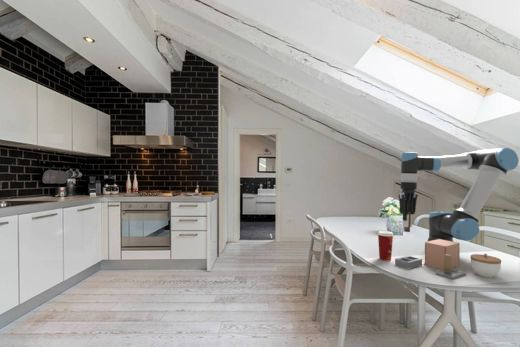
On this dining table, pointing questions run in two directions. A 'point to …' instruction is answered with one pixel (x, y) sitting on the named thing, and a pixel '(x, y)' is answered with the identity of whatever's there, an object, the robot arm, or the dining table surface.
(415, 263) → the grey hollow block
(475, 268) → the lidded jar
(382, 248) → the paper cup
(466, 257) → the dining table surface
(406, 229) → the pin
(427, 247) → the block
